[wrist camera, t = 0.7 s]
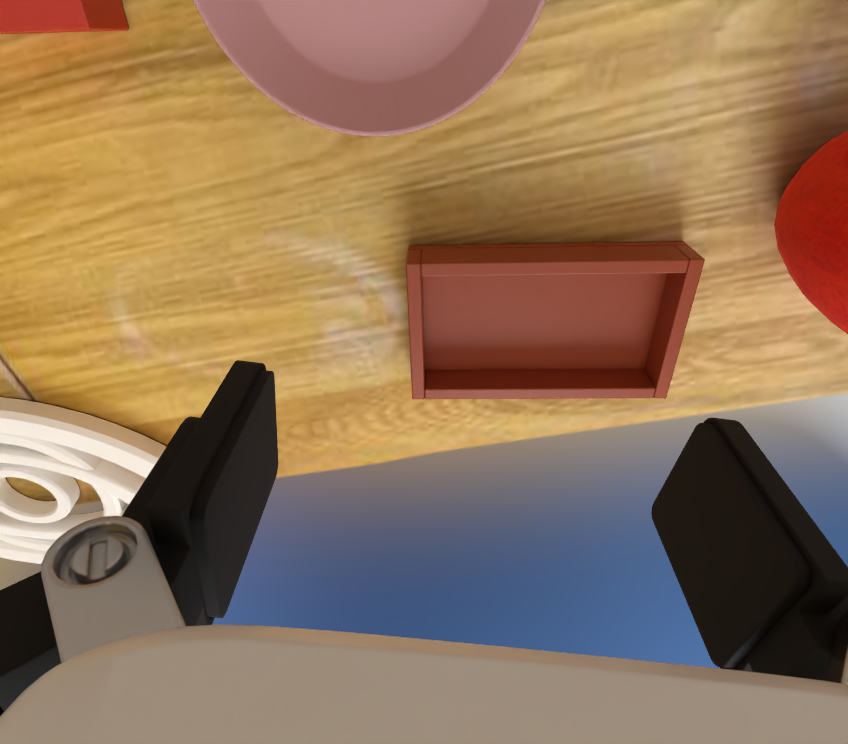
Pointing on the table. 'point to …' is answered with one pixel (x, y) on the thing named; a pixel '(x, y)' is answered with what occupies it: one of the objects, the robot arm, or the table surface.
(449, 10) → the plate
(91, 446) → the decorative sculpture
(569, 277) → the tray
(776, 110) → the table surface
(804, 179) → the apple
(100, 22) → the red spoon
